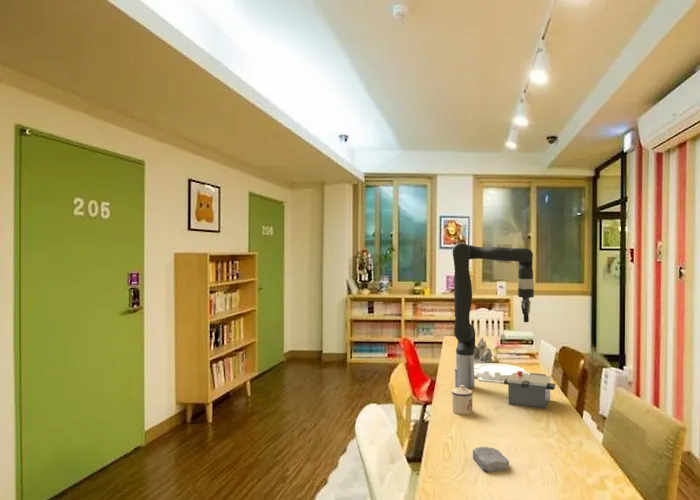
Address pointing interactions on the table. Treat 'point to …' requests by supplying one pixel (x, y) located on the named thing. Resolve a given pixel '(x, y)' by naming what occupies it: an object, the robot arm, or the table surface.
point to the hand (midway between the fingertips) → (526, 322)
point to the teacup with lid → (462, 400)
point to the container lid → (495, 372)
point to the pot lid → (529, 379)
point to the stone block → (490, 459)
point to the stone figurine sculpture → (482, 353)
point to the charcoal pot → (529, 395)
